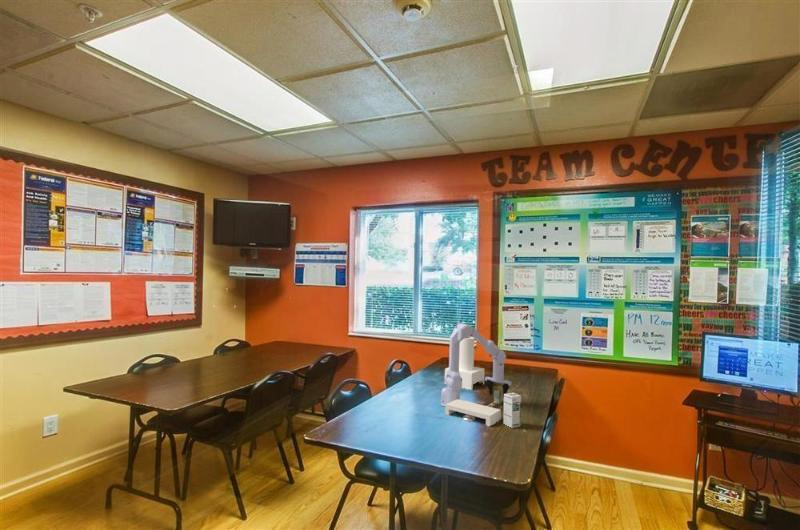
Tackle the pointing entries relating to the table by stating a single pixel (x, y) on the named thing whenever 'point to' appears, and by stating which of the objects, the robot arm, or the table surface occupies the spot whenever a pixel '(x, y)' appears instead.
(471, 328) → the robot arm
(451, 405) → the low shelf
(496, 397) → the gray rectangular block
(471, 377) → the white column on base
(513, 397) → the syrup box
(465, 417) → the steel disc
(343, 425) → the table surface
